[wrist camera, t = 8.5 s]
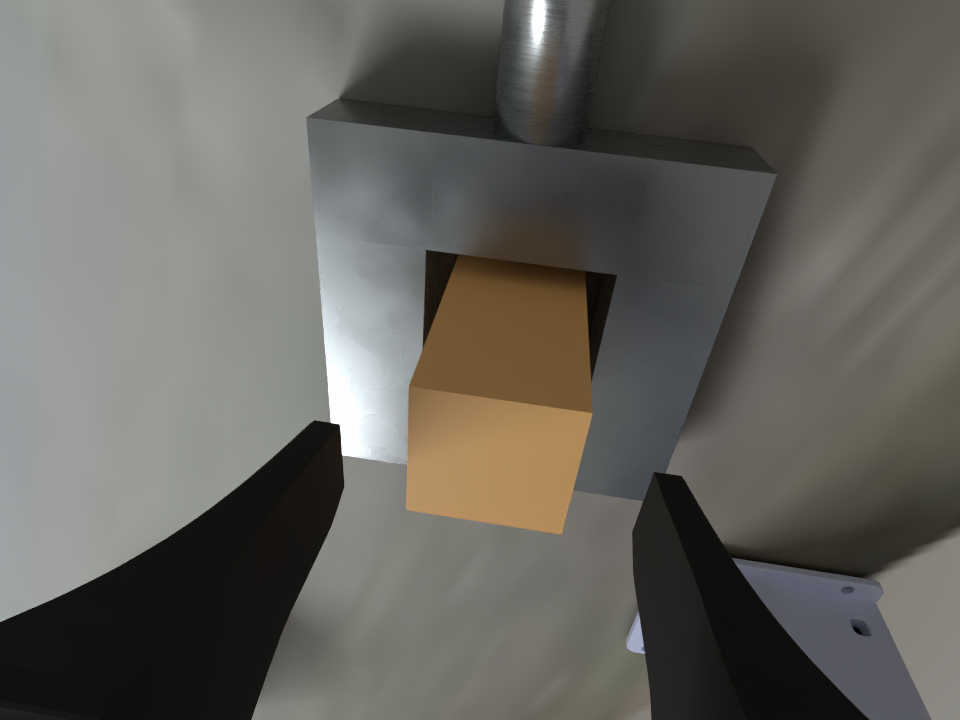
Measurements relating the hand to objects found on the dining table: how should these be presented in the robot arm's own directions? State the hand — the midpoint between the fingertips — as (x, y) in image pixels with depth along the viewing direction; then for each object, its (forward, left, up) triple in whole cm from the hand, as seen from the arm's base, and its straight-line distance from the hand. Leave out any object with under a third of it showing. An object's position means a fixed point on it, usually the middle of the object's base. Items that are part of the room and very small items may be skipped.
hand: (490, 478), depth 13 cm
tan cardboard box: (0, 0, -8) cm, 8 cm away
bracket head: (0, -4, -8) cm, 9 cm away
